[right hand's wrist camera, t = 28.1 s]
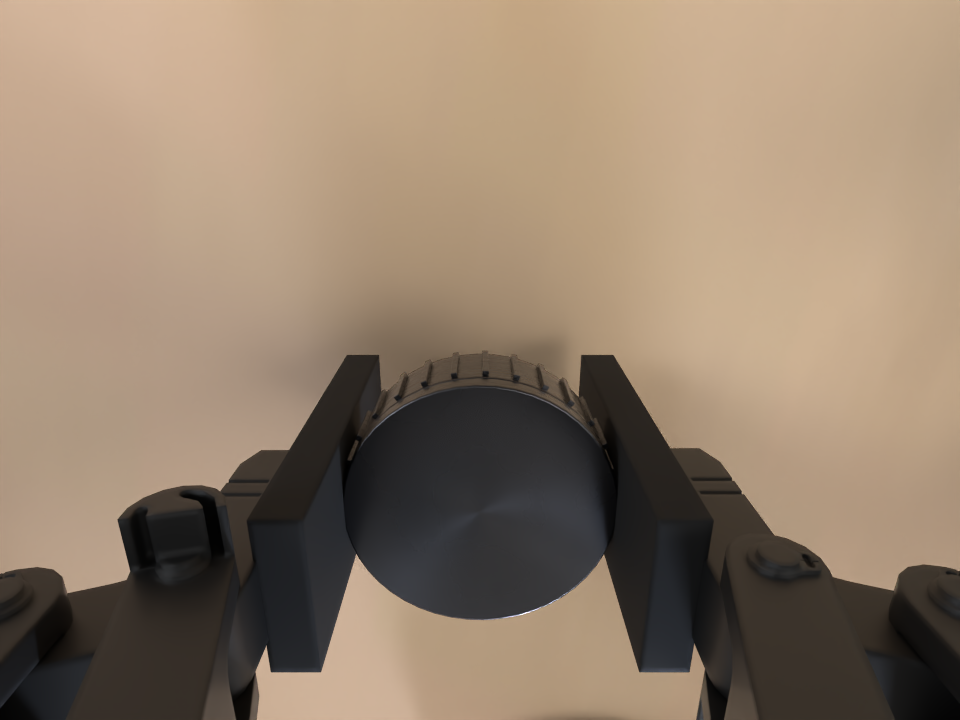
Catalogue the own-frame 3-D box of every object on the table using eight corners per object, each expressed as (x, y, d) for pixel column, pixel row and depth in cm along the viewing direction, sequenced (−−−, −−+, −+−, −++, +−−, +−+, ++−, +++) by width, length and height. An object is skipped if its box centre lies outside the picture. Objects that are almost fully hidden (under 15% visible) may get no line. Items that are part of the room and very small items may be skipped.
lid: (628, 537, 13) (648, 589, 11) (403, 591, 13) (393, 649, 12) (573, 317, 11) (587, 345, 9) (317, 389, 11) (292, 426, 10)
